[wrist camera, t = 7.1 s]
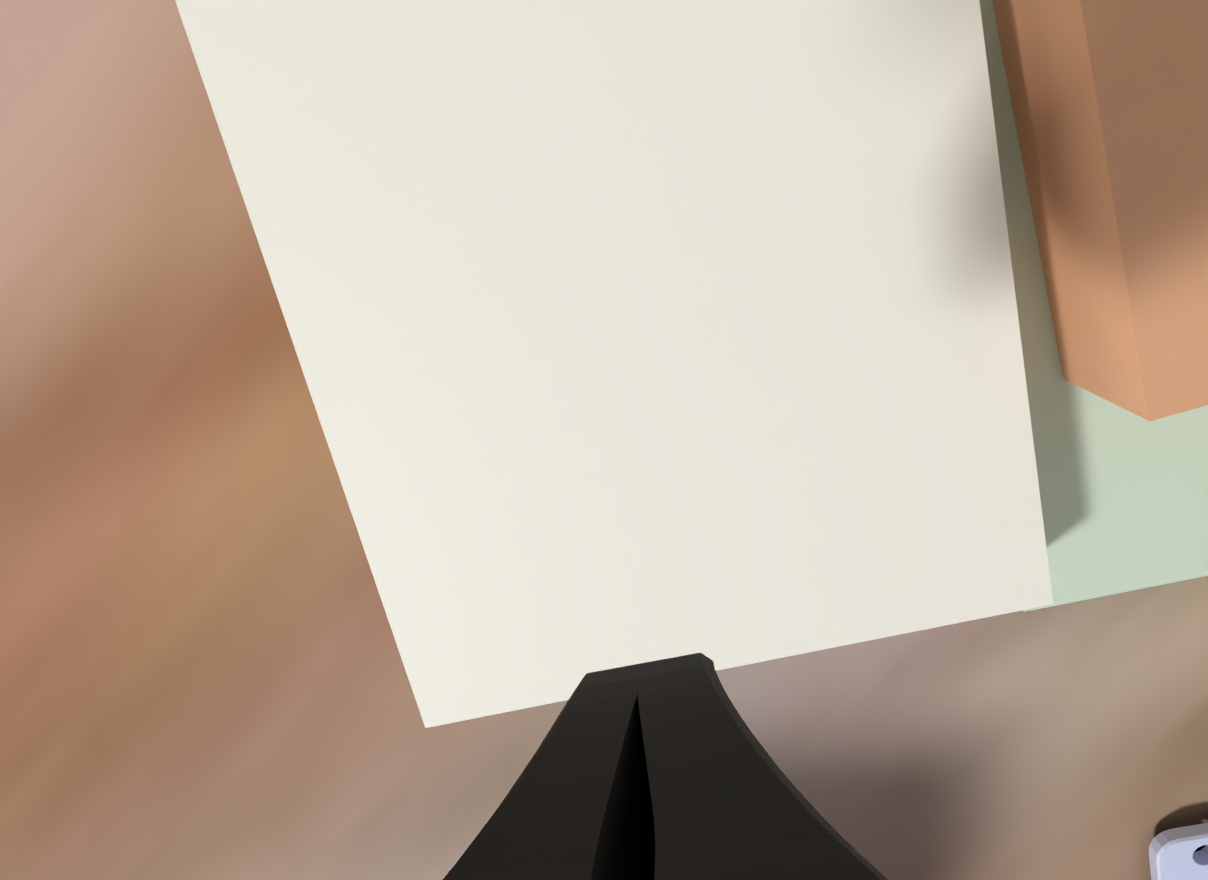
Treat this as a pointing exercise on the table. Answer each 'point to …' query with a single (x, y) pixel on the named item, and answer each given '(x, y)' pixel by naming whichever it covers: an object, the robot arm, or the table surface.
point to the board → (643, 320)
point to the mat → (1095, 430)
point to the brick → (1118, 188)
